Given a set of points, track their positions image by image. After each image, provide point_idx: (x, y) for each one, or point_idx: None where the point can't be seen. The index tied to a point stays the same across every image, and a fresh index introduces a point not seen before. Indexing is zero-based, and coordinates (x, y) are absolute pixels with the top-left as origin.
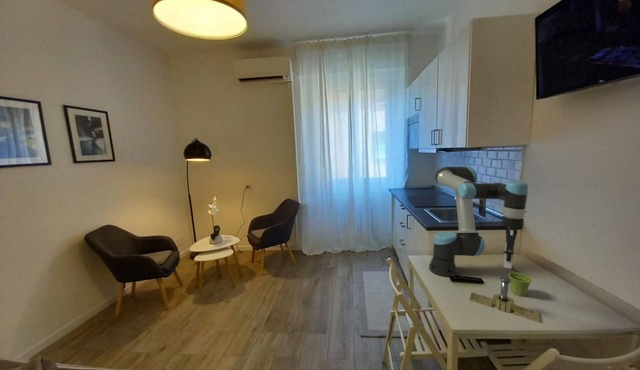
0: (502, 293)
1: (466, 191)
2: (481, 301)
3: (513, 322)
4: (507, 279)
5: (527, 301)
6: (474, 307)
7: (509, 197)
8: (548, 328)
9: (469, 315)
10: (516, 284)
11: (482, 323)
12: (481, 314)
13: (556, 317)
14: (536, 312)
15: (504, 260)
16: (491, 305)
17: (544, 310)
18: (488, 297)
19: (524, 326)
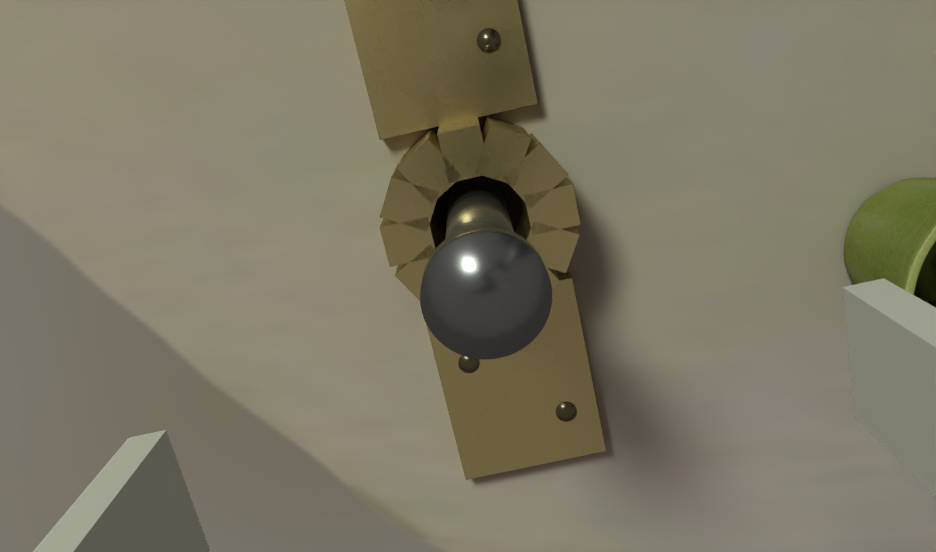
0: (446, 235)
1: None
2: (374, 36)
3: (285, 335)
4: (482, 322)
5: (778, 339)
6: (230, 15)
7: None
8: (428, 523)
9: (42, 32)
10: (892, 266)
11: (28, 161)
12: (165, 108)
13: (658, 538)
14: (588, 438)
15: (53, 534)
16: (380, 135)
17: (710, 463)
18: (526, 62)
19: (300, 404)
